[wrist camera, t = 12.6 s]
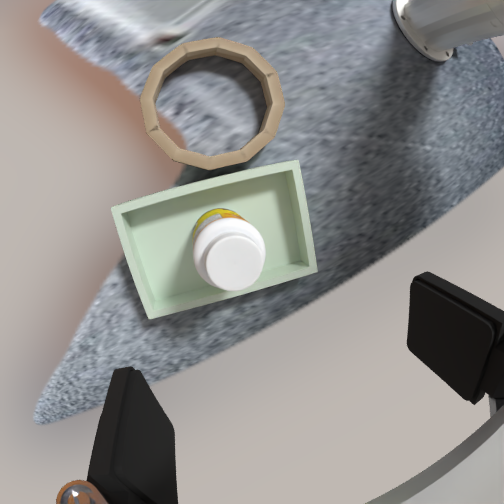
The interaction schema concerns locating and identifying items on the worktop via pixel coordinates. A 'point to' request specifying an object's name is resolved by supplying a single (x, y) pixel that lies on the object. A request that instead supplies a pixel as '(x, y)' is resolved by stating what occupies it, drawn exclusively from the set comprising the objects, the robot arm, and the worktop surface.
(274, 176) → the tray
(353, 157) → the worktop surface
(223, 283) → the supplement bottle
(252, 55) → the collar
